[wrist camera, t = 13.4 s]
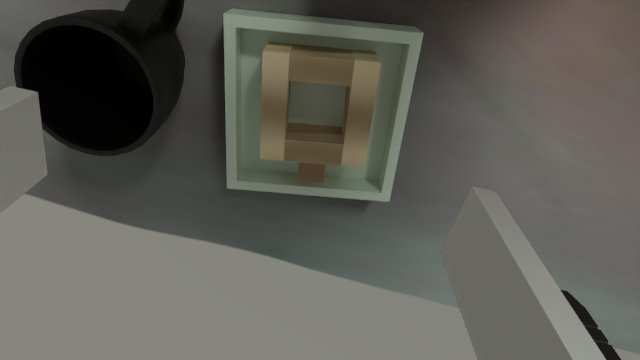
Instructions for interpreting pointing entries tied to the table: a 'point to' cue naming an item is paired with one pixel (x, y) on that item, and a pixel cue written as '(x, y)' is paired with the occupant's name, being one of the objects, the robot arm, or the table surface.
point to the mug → (105, 74)
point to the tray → (315, 101)
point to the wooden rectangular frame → (308, 139)
